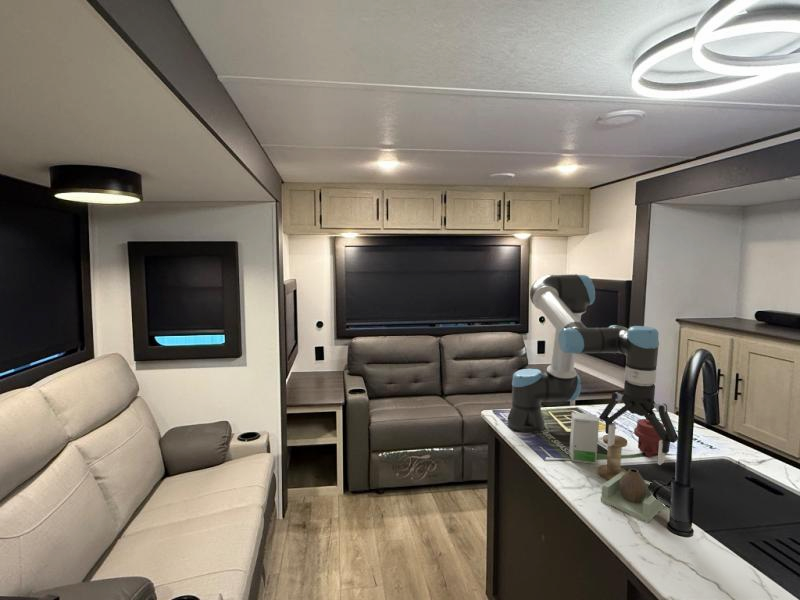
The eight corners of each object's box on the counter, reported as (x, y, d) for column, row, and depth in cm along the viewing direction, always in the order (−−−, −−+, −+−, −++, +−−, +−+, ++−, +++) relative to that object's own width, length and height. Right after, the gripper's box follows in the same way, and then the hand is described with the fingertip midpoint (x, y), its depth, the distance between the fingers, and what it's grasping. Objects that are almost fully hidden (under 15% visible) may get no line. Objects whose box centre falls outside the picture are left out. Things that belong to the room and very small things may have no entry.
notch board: (600, 500, 125) (601, 485, 124) (620, 485, 133) (621, 470, 132) (648, 522, 115) (649, 505, 114) (667, 504, 123) (668, 488, 122)
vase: (642, 494, 126) (643, 466, 125) (648, 507, 119) (650, 478, 118) (616, 491, 128) (618, 463, 127) (621, 504, 121) (623, 474, 120)
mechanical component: (652, 462, 147) (626, 450, 156) (671, 456, 152) (645, 445, 161) (655, 428, 146) (628, 418, 155) (673, 423, 150) (646, 413, 159)
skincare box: (571, 461, 148) (573, 418, 147) (568, 453, 155) (570, 411, 153) (597, 464, 146) (599, 420, 145) (593, 455, 153) (595, 413, 151)
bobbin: (592, 474, 140) (594, 438, 139) (606, 465, 146) (607, 431, 144) (620, 485, 133) (622, 448, 132) (633, 476, 139) (635, 440, 137)
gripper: (589, 374, 127) (586, 441, 130) (685, 397, 108) (679, 476, 110) (602, 369, 132) (598, 434, 134) (696, 390, 112) (689, 466, 115)
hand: (634, 453), depth 122 cm, fingers open, 13 cm apart
